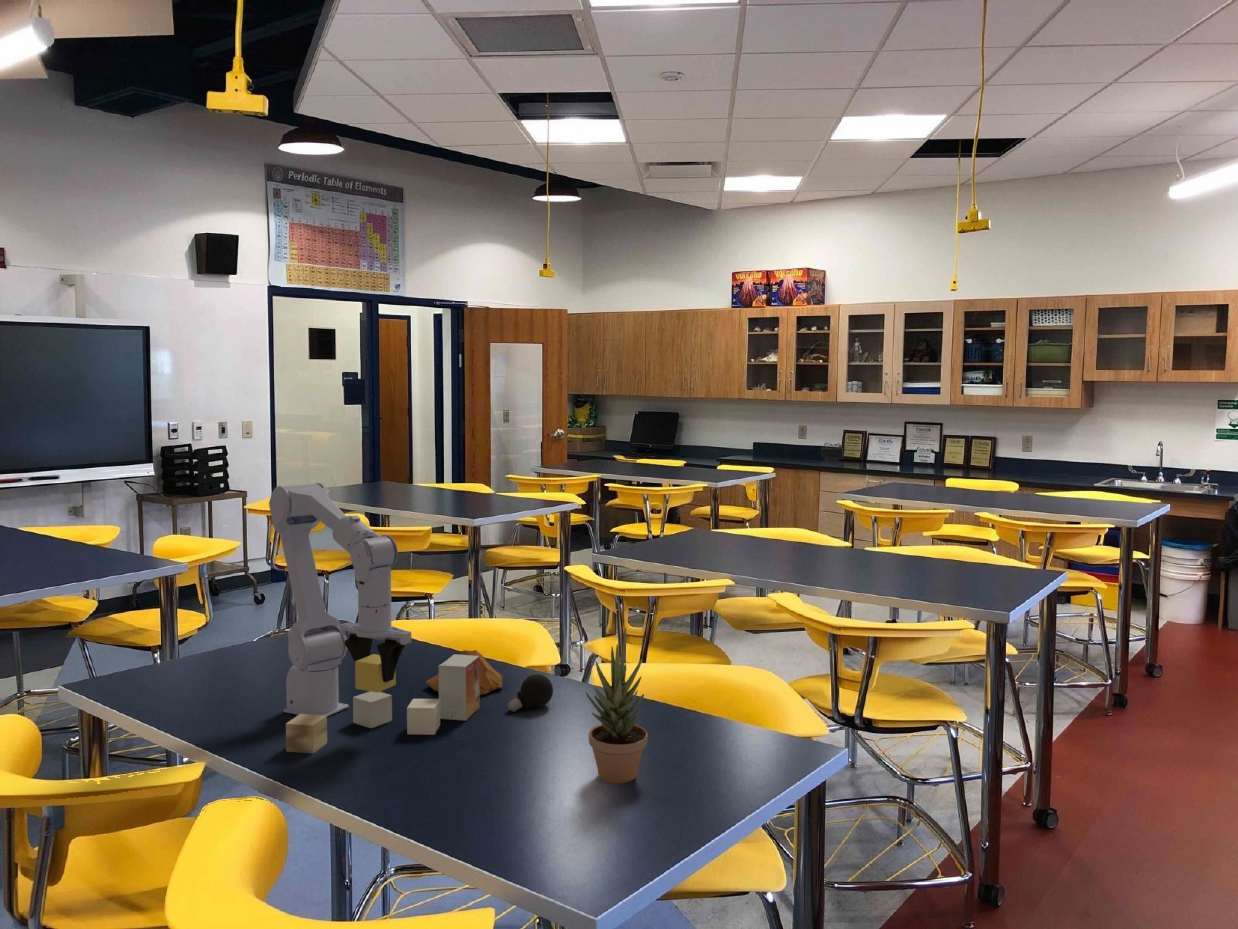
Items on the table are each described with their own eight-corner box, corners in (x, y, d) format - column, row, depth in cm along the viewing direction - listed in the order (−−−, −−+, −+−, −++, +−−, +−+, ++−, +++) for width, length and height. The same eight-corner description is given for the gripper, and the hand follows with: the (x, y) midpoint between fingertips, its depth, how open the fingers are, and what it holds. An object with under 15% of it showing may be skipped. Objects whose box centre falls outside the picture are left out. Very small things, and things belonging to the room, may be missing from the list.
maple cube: (286, 751, 164) (285, 723, 164) (300, 741, 169) (300, 713, 168) (313, 754, 163) (312, 725, 163) (327, 743, 168) (326, 715, 168)
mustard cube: (355, 688, 170) (355, 661, 170) (373, 680, 175) (373, 654, 174) (377, 692, 168) (377, 664, 168) (395, 684, 172) (395, 657, 172)
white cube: (407, 734, 172) (406, 707, 172) (413, 724, 177) (413, 698, 177) (434, 735, 172) (434, 708, 172) (440, 725, 177) (439, 699, 177)
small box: (466, 721, 179) (465, 667, 178) (438, 719, 180) (437, 665, 179) (480, 707, 187) (480, 655, 186) (453, 705, 188) (453, 653, 187)
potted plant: (627, 793, 148) (629, 638, 146) (577, 780, 153) (578, 629, 151) (659, 772, 157) (661, 624, 155) (610, 759, 162) (611, 616, 160)
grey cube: (353, 723, 178) (352, 697, 178) (374, 715, 182) (373, 690, 182) (371, 728, 175) (370, 702, 175) (392, 721, 179) (391, 695, 179)
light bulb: (496, 689, 185) (537, 663, 190) (502, 714, 188) (543, 687, 193) (514, 704, 181) (556, 676, 186) (521, 729, 183) (562, 701, 189)
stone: (514, 693, 203) (520, 657, 199) (469, 729, 192) (475, 692, 187) (461, 660, 209) (466, 624, 205) (414, 693, 198) (419, 656, 193)
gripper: (327, 604, 169) (328, 678, 171) (393, 613, 163) (394, 690, 164) (354, 596, 176) (355, 668, 177) (418, 604, 170) (419, 679, 171)
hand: (375, 678), depth 171 cm, fingers closed on mustard cube, 5 cm apart
